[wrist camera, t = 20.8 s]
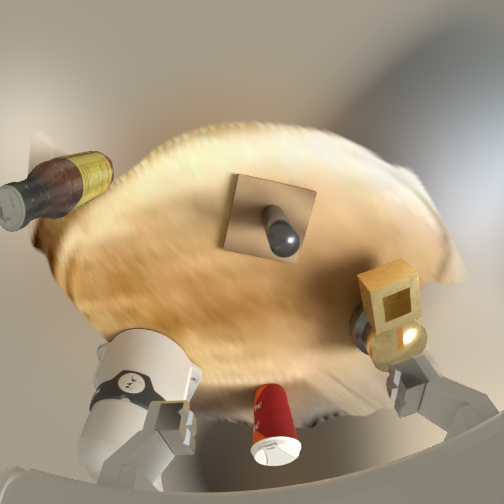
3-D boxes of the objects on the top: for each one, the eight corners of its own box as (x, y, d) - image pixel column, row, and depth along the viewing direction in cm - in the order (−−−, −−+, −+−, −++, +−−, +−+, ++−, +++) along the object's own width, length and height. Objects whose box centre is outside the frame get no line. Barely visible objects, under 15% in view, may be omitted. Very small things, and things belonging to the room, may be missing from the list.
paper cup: (241, 386, 51) (242, 450, 38) (283, 373, 50) (293, 438, 37) (258, 411, 54) (262, 471, 41) (296, 399, 53) (308, 460, 40)
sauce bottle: (74, 188, 38) (-21, 232, 19) (83, 145, 36) (-17, 163, 17) (113, 200, 39) (28, 254, 20) (123, 156, 37) (35, 180, 18)
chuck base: (393, 347, 50) (399, 357, 47) (340, 342, 49) (345, 353, 46) (419, 293, 46) (427, 302, 43) (364, 284, 45) (371, 293, 42)
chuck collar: (413, 340, 45) (427, 358, 41) (365, 359, 46) (375, 380, 41) (407, 256, 40) (425, 271, 35) (350, 277, 41) (362, 295, 36)
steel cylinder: (285, 226, 40) (300, 255, 31) (262, 228, 40) (270, 259, 31) (283, 203, 39) (299, 226, 30) (259, 206, 39) (268, 230, 30)
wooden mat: (295, 261, 43) (296, 264, 42) (223, 247, 42) (223, 249, 41) (314, 191, 40) (316, 192, 39) (239, 173, 38) (238, 174, 38)
